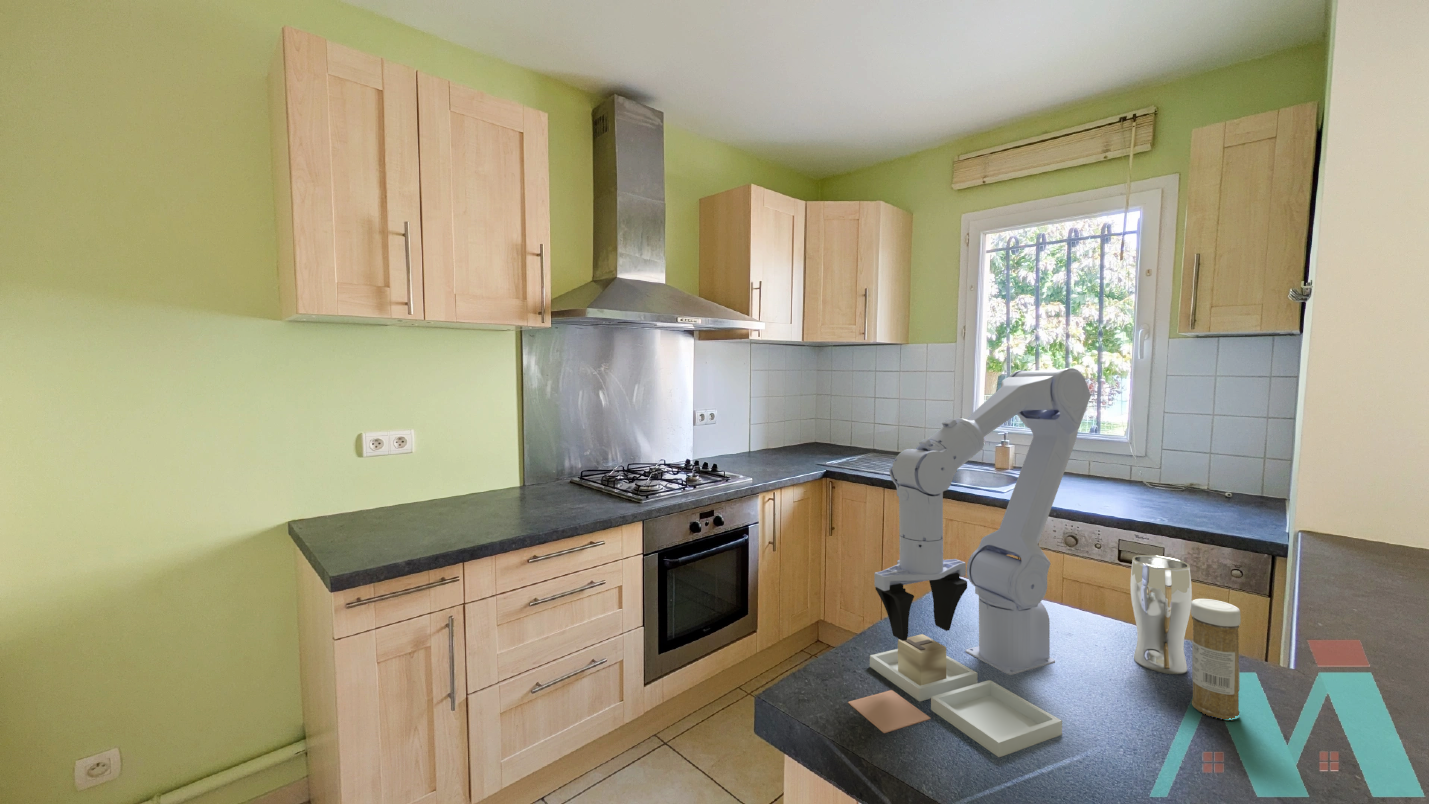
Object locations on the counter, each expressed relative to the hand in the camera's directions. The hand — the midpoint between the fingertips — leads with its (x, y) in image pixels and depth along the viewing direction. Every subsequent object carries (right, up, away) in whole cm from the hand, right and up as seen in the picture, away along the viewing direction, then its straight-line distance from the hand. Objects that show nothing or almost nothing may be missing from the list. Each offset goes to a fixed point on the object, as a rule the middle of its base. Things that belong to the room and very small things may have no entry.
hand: (921, 632), depth 79 cm
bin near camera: (+5, -7, -11) cm, 14 cm away
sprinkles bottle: (+33, -6, -9) cm, 35 cm away
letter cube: (0, -6, 0) cm, 6 cm away
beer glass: (+36, -6, +3) cm, 36 cm away
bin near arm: (0, -6, 0) cm, 6 cm away
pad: (-7, -7, -8) cm, 13 cm away
